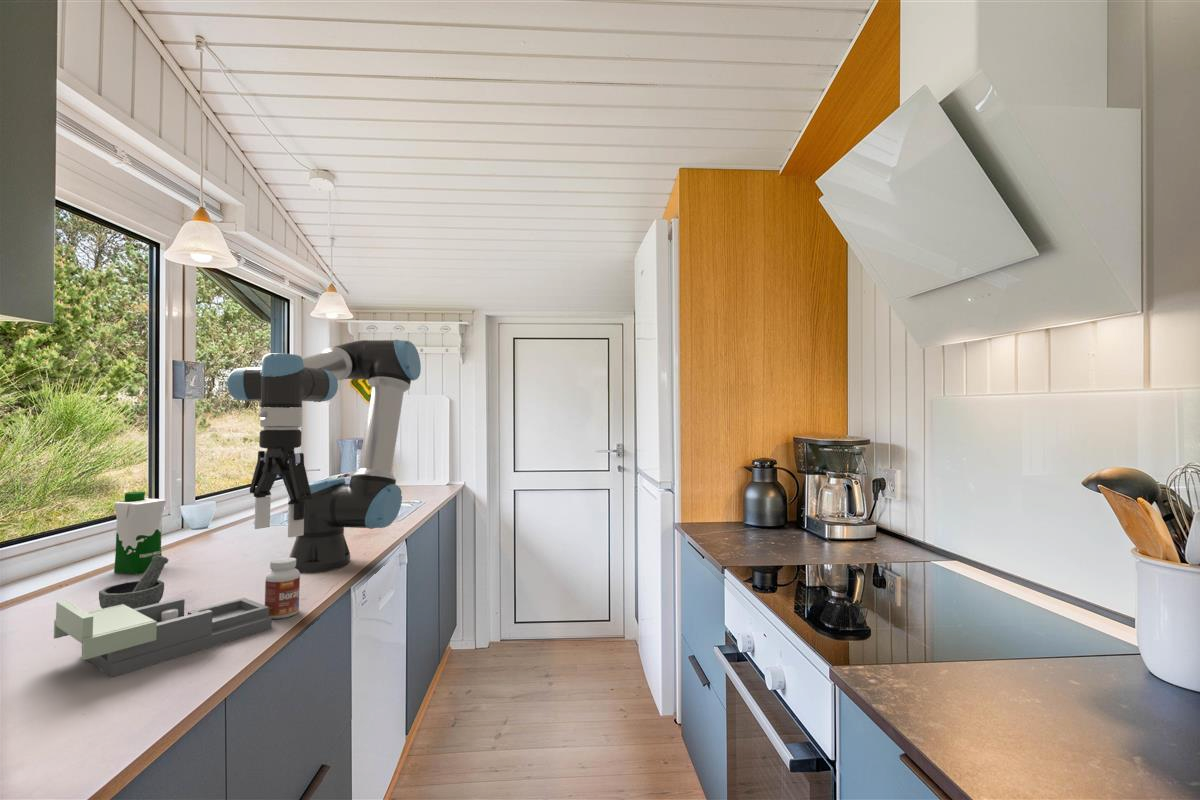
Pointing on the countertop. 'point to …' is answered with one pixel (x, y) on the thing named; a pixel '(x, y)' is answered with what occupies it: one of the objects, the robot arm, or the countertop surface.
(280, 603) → the pill bottle
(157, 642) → the housing base
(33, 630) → the countertop surface
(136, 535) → the milk carton
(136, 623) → the cover
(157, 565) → the mortar and pestle
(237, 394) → the robot arm
